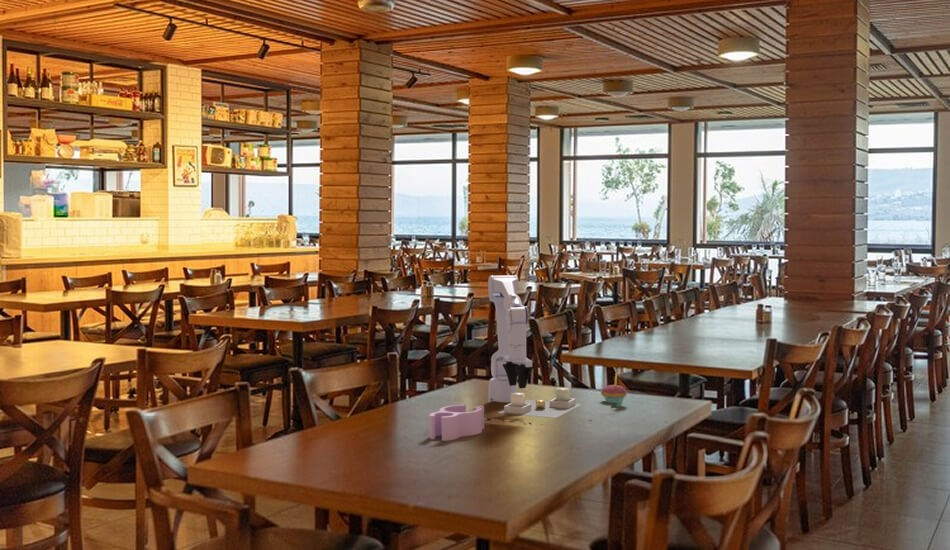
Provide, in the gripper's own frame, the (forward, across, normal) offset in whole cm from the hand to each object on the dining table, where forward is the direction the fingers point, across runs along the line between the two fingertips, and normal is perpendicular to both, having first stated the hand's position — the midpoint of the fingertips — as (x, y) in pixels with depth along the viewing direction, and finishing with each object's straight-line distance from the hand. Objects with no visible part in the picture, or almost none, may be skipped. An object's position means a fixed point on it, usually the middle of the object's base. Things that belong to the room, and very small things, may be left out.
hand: (517, 386), depth 317 cm
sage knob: (+6, 0, +17) cm, 18 cm away
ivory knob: (+6, 0, 0) cm, 6 cm away
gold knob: (+8, 0, +9) cm, 12 cm away
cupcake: (+10, +3, +36) cm, 37 cm away
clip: (+10, +12, -29) cm, 33 cm away
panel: (+9, 0, +9) cm, 13 cm away
